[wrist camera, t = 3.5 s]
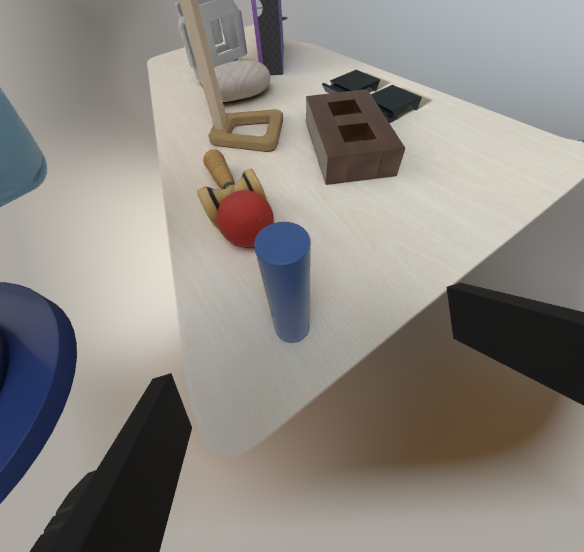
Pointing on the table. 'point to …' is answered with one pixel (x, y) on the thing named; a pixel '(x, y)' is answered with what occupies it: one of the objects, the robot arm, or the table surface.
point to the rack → (352, 137)
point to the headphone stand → (221, 121)
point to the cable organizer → (217, 32)
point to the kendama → (235, 202)
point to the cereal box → (269, 34)
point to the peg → (286, 277)
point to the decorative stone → (241, 79)
